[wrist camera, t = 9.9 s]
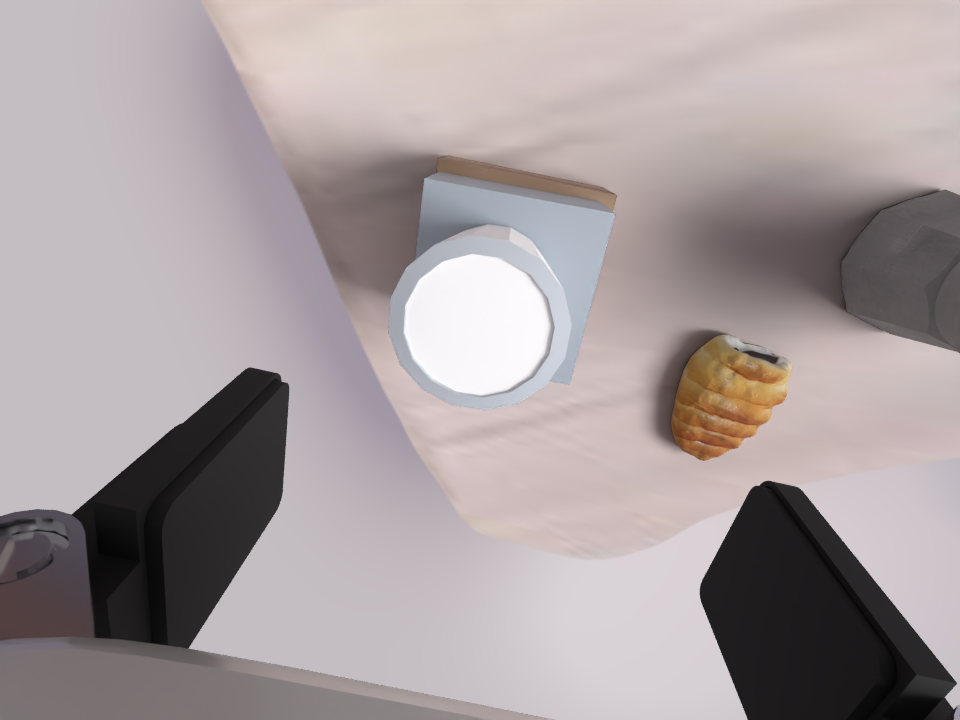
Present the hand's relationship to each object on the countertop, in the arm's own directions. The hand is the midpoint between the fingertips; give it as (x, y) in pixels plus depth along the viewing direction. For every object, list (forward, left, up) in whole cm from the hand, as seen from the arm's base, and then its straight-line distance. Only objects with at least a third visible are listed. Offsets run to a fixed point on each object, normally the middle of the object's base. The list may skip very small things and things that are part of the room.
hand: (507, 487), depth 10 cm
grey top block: (+1, 0, -22) cm, 22 cm away
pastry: (+7, +17, -27) cm, 33 cm away
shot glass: (0, -1, -17) cm, 17 cm away
